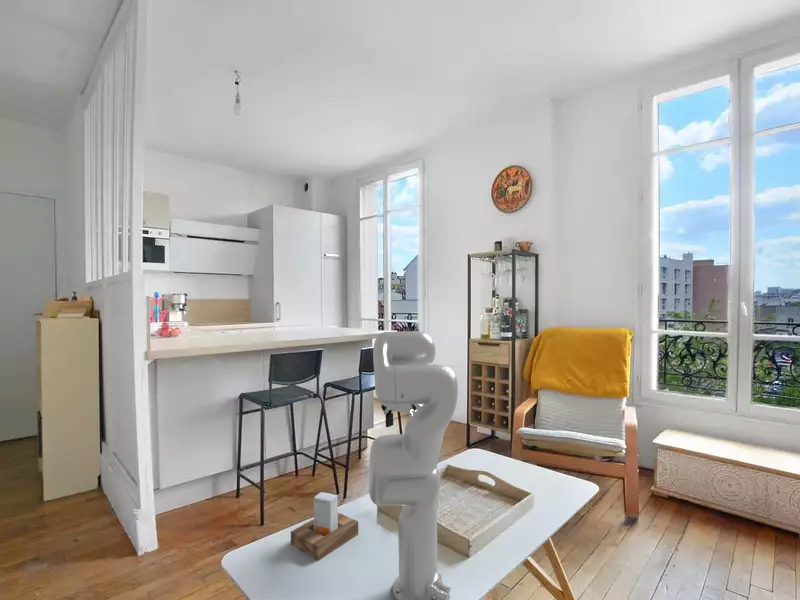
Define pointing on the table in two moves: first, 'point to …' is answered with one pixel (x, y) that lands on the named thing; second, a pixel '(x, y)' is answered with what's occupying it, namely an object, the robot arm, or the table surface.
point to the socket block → (323, 537)
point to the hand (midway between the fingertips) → (401, 428)
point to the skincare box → (325, 513)
